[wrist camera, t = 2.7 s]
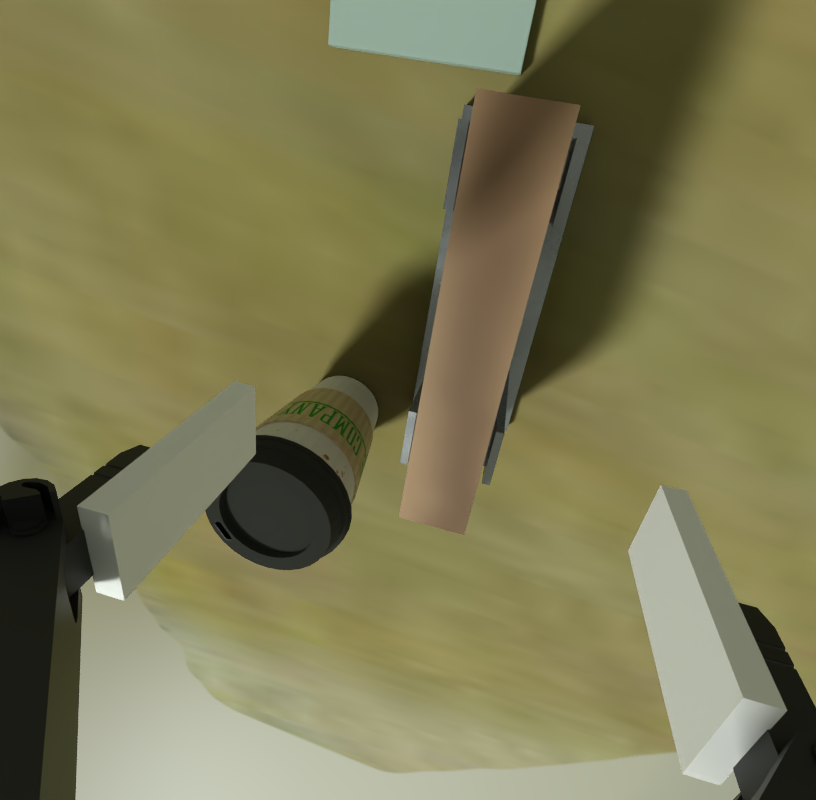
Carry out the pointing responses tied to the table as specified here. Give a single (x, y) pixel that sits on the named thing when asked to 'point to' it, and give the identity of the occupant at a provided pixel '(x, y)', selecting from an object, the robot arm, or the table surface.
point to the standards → (536, 293)
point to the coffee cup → (300, 478)
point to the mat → (437, 30)
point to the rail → (483, 295)
